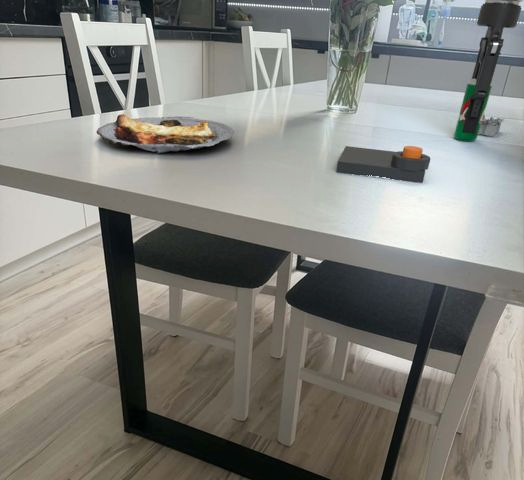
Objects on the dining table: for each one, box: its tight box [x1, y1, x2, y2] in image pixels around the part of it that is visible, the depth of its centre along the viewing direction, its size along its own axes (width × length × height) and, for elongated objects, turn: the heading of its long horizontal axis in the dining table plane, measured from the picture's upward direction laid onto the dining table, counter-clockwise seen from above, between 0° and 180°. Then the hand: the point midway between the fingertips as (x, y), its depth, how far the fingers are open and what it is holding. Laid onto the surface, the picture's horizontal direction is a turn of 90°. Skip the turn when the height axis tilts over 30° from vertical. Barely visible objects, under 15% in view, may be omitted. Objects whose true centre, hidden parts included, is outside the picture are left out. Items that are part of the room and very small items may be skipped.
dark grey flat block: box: [335, 145, 431, 184], centre depth 82 cm, size 14×12×4 cm
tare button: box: [402, 145, 423, 159], centre depth 77 cm, size 3×3×2 cm
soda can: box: [453, 77, 493, 143], centre depth 106 cm, size 5×5×12 cm
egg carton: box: [478, 114, 506, 137], centre depth 117 cm, size 11×8×4 cm
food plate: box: [96, 113, 235, 154], centre depth 90 cm, size 25×23×4 cm
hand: (467, 130), depth 108 cm, fingers closed on soda can, 5 cm apart
